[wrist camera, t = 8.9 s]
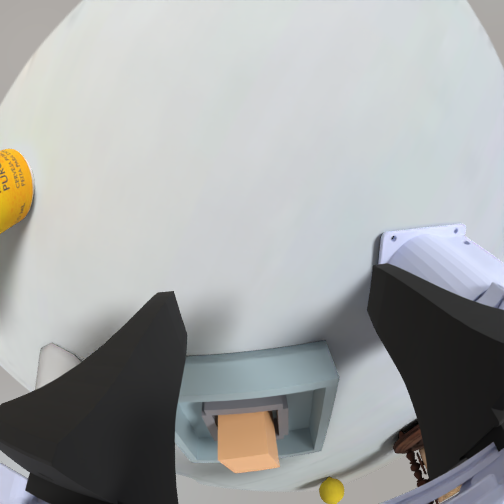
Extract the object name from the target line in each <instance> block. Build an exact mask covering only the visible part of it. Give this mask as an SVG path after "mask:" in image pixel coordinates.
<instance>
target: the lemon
mask: <svg viewBox="0 0 504 504" xmlns="http://www.w3.org/2000/svg"><path fill="white" fill-rule="evenodd" d="M319 492H320V496H321V499H322V500H323V501H324V502H325V503H328V504H337V502H339V501H340V500H341V499H342V498H343V496H344V486H343V484H342V483H341V481H339V480H338V479H333V478H331V477H328V478H327V479H326V480H325V481H324V482H323V483H322V484H321V486H320V488H319Z"/></svg>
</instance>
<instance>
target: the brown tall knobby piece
mask: <svg viewBox="0 0 504 504" xmlns="http://www.w3.org/2000/svg"><path fill="white" fill-rule="evenodd" d="M393 449H394V451H395V453H398V454H399V453H402V454H405V453H407V455H406V457H407V458H408V459H409V460H410V461H411V462H410V464H412V465H411V470H412V471H415V473H414V476H415V477H416V478H417V479H418V481H417V482H418V483H417V486H418V487H420V486H422V485H424V484H426V483H428V482H430V479H428V480H427V479H424V478H422V471H421V470H419V468H420V465H421V467H422V469H423V471H424V474H427V473H426V471H425V468H424V466H423V465H425V466H426V469H427V463H426V456H425V450H424V444H423V439H422V435H421V431H420V427H419V424H418V425H417V426H415V427H414V428H412V429H411V430H409V431H408V432H407V433H405V434H404V432H402V431H400V432H399V439H398V440H397V441H396V443H395V444H394V446H393ZM418 449H419V452H420V455H421V458H422V461H421V459H420V456H419V454H418V453H417V457H418V459H419V462H420V464H419V463H417V462H416V461H417V460H415V453H414V452H413V451H416V450H418ZM461 486H462V484H461V485H459V486H458V487H456V488H455V489H453V490H451V491H450V492H448V493H446V494H444V495H443V496H441V497H439V498H437V499H436V500H435V502H436V504H439V503H438V501H439V502H442V501H443V500H445V499H447V498H449V497H450V496H452V495H454V494H455V493H457V492H459V491H460V487H461ZM433 503H434V501H432V502H430V503H428V504H433Z"/></svg>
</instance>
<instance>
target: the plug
mask: <svg viewBox="0 0 504 504" xmlns="http://www.w3.org/2000/svg"><path fill="white" fill-rule="evenodd" d="M218 461H219V462H221V463H222V464H223V465H225V466H226V467H227V468H229V469H230V470H231V471H233V472H234V473H243V472H251V471H259V470H265V469H271V468H277V467H280V464H279V457H278V450H277V443H276V435H275V428H274V421H273V413H272V411H263V412H254V413H243V414H229V415H218Z"/></svg>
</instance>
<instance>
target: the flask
mask: <svg viewBox="0 0 504 504" xmlns="http://www.w3.org/2000/svg"><path fill="white" fill-rule="evenodd" d="M80 363H81V361H80V360H79V359H78V358H77V357H76V356H75V355H74V354H72V353H70V352H68V351H66V350H64V349H62V348H60V347H58V346H57V345H55V344H53V343H50V344H48V345H46V346H45V347H43V348H41V350H40V355H39V362H38V371H37V378H36V386H35V390H36V389H38V388H40V387H42V386H44V385H46V384H48V383H50V382H52V381H53V380H55V379H57V378H58V377H60V376H61V375H63V374H64V373H66V372H68V371H69V370H71V369H72V368H74V367H75V366H77V365H78V364H80Z"/></svg>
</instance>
